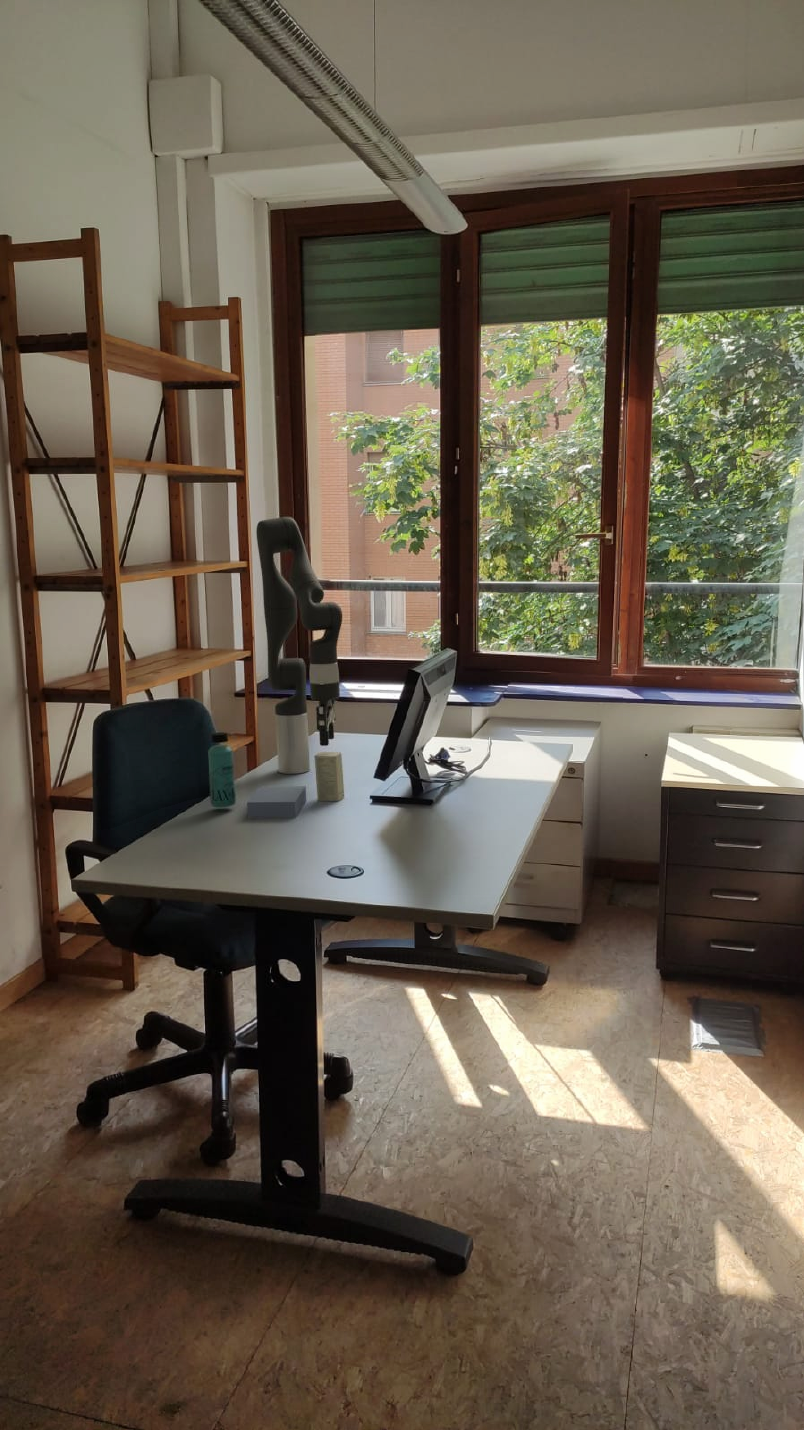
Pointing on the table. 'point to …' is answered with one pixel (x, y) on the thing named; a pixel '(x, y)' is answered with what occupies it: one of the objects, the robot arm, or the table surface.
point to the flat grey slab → (277, 802)
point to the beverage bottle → (221, 772)
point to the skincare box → (329, 776)
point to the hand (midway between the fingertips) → (327, 742)
